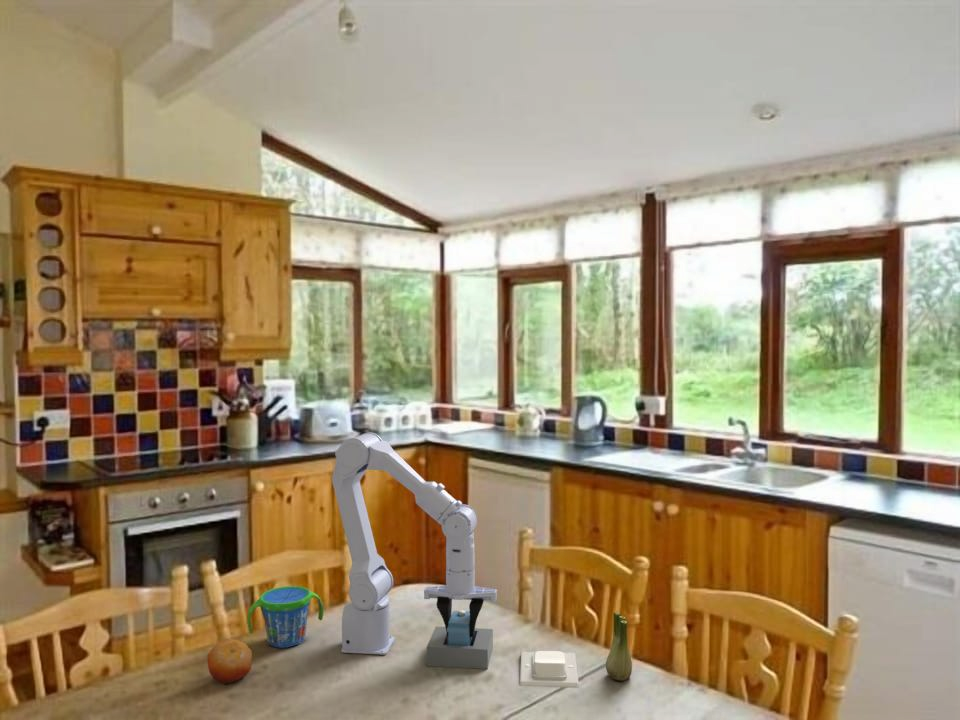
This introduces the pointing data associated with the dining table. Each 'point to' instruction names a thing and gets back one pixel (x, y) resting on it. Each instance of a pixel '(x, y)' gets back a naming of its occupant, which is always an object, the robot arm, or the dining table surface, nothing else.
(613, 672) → the fennel bulb
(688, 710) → the dining table surface
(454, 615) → the servo
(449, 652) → the block
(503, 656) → the dining table surface
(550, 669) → the light switch
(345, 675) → the dining table surface
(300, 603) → the snack cup
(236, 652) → the fruit
